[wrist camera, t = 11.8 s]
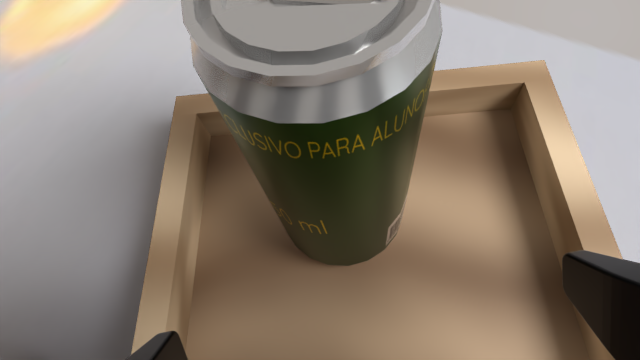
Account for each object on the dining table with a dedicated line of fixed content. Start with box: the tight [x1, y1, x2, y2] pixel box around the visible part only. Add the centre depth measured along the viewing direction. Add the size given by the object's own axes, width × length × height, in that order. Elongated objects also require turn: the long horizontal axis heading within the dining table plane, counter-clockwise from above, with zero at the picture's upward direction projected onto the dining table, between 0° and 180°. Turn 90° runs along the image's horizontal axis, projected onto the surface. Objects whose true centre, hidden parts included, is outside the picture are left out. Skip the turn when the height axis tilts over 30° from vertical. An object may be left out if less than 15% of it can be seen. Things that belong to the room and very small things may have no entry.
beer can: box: [181, 0, 442, 266], centre depth 13 cm, size 5×5×12 cm
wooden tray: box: [131, 60, 623, 360], centre depth 16 cm, size 18×18×3 cm
